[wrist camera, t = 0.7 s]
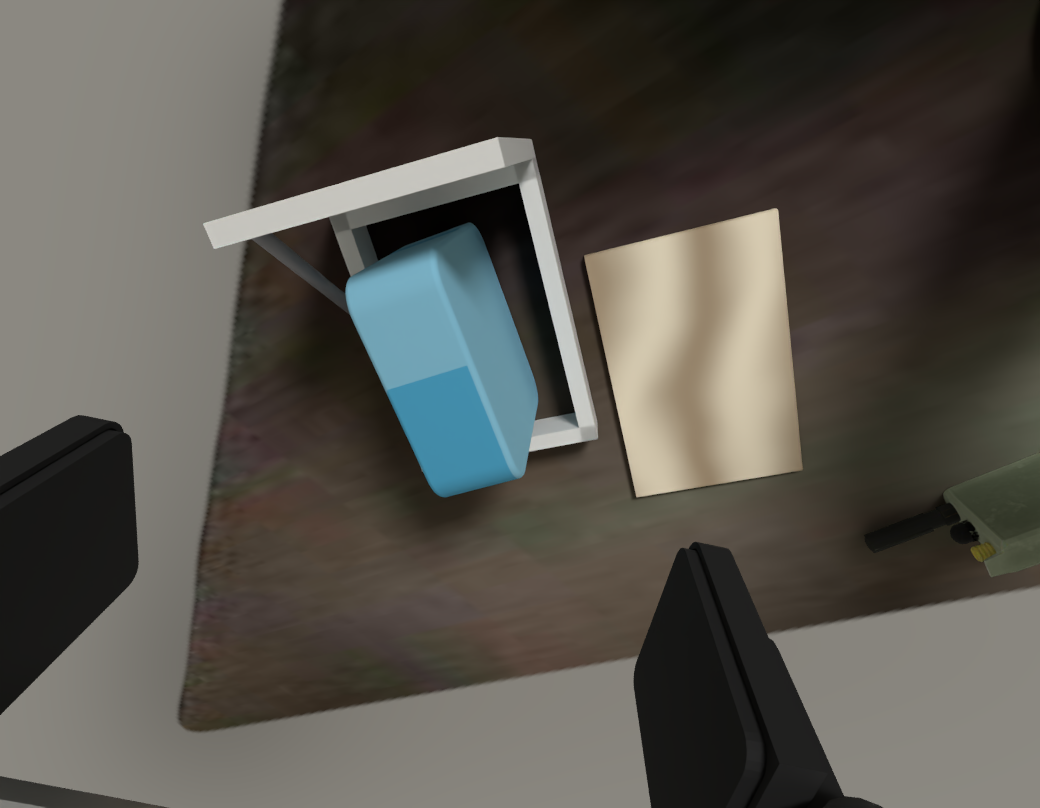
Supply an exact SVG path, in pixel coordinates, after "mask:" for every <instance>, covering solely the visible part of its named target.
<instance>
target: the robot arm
mask: <svg viewBox="0 0 1040 808" xmlns="http://www.w3.org/2000/svg"><path fill="white" fill-rule="evenodd" d="M138 562H139V561H138V544H137V527H136V511H135V493H134V475H133V458H132V443H131V438H130V436H129V435H128V434H126V433H124V432H123V429H122V427H121V425H120V424H118V423H116V422H113V421H107V420H103V419H98V418H93V417H88V416H82V415H78V416H75V417H72V418H70V419H68V420H67V421H65V422H63V423H61V424H59V425H57V426H55V427H53V428H52V429H50V430H48V431H46V432H44V433H42V434H41V435H39V436H37V437H35V438H33V439H31V440H29V441H28V442H26V443H24V444H22V445H21V446H18V447H16V448H15V449H13V450H11V451H9V452H7V453H5V454H3V455H2V456H0V715H1V714H2V713H3V712H4V711H5V709H7V707H9V706H10V705H11V703H12V702H14V701H15V700H16V699H17V698H18V697H19V695H20V694H22V693H23V692H24V691H25V690H26V689H27V688H28V686H30V685H31V684H32V683H33V682H34V681H35V679H36V678H38V676H39V675H40V674H41V673H42V672H44V671H45V669H46V668H47V667H48V666H49V665H50V664H51V663H52V662H53V661H54V660H55V659H56V658H57V657H58V656H59V655H60V654H61V653H62V652H63V651H64V650H65V649H66V648H67V647H68V646H69V645H70V644H71V643H72V642H73V641H74V640H75V639H76V638H77V637H78V636H79V635H80V634H81V633H82V632H83V631H84V630H85V629H86V628H87V627H88V626H89V625H90V624H91V623H92V622H93V621H94V620H95V619H96V618H97V617H98V616H99V615H100V614H101V613H102V612H103V611H104V610H105V609H106V608H107V607H108V606H109V605H110V604H111V603H112V602H113V601H114V600H115V599H116V598H117V597H118V596H119V595H120V594H121V593H122V592H123V591H124V590H125V589H126V588H127V587H128V586H129V585H130V584H131V582H132V581H133V579H134V577H135V575H136V573H137V569H138ZM634 691H635V698H636V705H637V712H638V718H639V726H640V733H641V740H642V747H643V753H644V760H645V767H646V774H647V780H648V788H649V795H650V802H651V808H883V807H881V806H879V805H877V804H874V803H871V802H869V801H867V800H864V799H861V798H855V797H846V796H844V795H843V793H842V791H841V788H840V786H839V784H838V782H837V779H836V777H835V775H834V773H833V771H832V768H831V766H830V764H829V762H828V759H827V758H826V755H825V753H824V750H823V748H822V746H821V744H820V741H819V739H818V737H817V735H816V733H815V730H814V728H813V726H812V724H811V721H810V719H809V717H808V715H807V712H806V710H805V708H804V706H803V703H802V701H801V699H800V697H799V695H798V692H797V690H796V688H795V686H794V683H793V681H792V679H791V677H790V675H789V672H788V670H787V668H786V666H785V663H784V661H783V659H782V657H781V654H780V652H779V650H778V648H777V647H776V645H775V643H774V642H773V641H772V640H771V639H769V638H768V635H767V633H766V631H765V628H764V626H763V624H762V622H761V619H760V617H759V615H758V612H757V610H756V608H755V606H754V603H753V601H752V599H751V596H750V594H749V592H748V590H747V587H746V585H745V583H744V581H743V578H742V576H741V574H740V571H739V569H738V567H737V565H736V562H735V560H734V558H733V555H732V553H731V552H730V550H729V549H727V548H723V547H718V546H713V545H709V544H704V543H699V542H694V543H692V545H691V546H690V547H689V549H686V548H681V549H680V550H679V551H678V553H677V555H676V558H675V560H674V563H673V566H672V568H671V571H670V574H669V576H668V579H667V582H666V585H665V587H664V590H663V593H662V595H661V598H660V601H659V603H658V606H657V609H656V611H655V614H654V617H653V619H652V622H651V625H650V627H649V630H648V633H647V635H646V638H645V641H644V643H643V646H642V649H641V651H640V654H639V657H638V659H637V662H636V666H635V671H634ZM0 808H167V807H162V806H157V805H151V804H146V803H141V802H136V801H130V800H125V799H120V798H114V797H109V796H104V795H98V794H93V793H88V792H82V791H77V790H72V789H66V788H61V787H56V786H50V785H45V784H39V783H34V782H28V781H22V780H17V779H12V778H7V777H1V776H0Z"/></svg>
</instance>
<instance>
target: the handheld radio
mask: <svg viewBox="0 0 1040 808" xmlns="http://www.w3.org/2000/svg"><path fill="white" fill-rule="evenodd" d="M943 497H944V499H945V502H946V504H944V505H941V506H939V507H936V510H933V511H930V512H928V513H925V514H923V513H922V514H919V515H917V516H914V517H911V518H909V519H906V520H903V521H901V522H898V523H896V524H893V525H890V526H888V527H885V528H882V529H880V530H877V531H874V532H872V533H869V534H866V535H864V537H865V542H866V544H867V546H868V547H869V549H870V550H872V551H873V552H874V553H876V552H879V551H882V550H884V549H887V548H890V547H892V546H895V545H898V544H900V543H903V542H906V541H908V540H911V539H914V538H916V537H919V536H922V535H924V534H927V533H930V532H932V531H934V530H933V529H936V528H938V527H941V526H943V525H947V526H948V525H951V524H953V523H956V522H960V523H959V524H956V525H954V526H953V527H952V528H951V530H950V534H951V537H952V538H953V539H954V540H955V541H956V542H958V543H960V544H966V543H969V542H972V541H973V542H974V541H979V542H980V543H981V544H980V546H979V545H976V547H972V549H971V552H972V554H973V555H974V557H975V558H976V559H977V560H978V561H981V562H982V561H984V563H985V566H986V568H987V570H988V573H989V575H990V577H994V576H998V575H1002V574H1006V573H1012V572H1017V571H1020V570H1023V569H1026V568H1029V567H1032V566H1035V565H1038V564H1040V452H1039V453H1037V454H1034V455H1032V456H1029V457H1027V458H1024V459H1021V460H1019V461H1016V462H1014V463H1011V464H1009V465H1006V466H1004V467H1001V468H999V469H996V470H994V471H991V472H988V473H986V474H983V475H981V476H978V477H976V478H973V479H971V480H968V481H966V482H963V483H960V484H958V485H955V486H953V487H950V488H948V489H947V490H946V491H945V492H944V493H943Z"/></svg>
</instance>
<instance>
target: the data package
mask: <svg viewBox="0 0 1040 808" xmlns="http://www.w3.org/2000/svg"><path fill="white" fill-rule="evenodd" d="M346 302H347V306H348V310H349V313H350V316H351V318H352V320H353V323H354V325H355V327H356V329H357V331H358V333H359V335H360V338H361V340H362V342H363V344H364V346H365V348H366V350H367V353H368V355H369V357H370V359H371V361H372V363H373V365H374V368H375V370H376V372H377V374H378V376H379V378H380V381H381V383H382V385H383V387H384V389H385V391H386V393H387V396H388V398H389V400H390V402H391V404H392V406H393V408H394V411H395V413H396V415H397V417H398V419H399V421H400V423H401V426H402V428H403V430H404V432H405V434H406V436H407V439H408V441H409V443H410V445H411V447H412V449H413V451H414V454H415V456H416V458H417V460H418V462H419V464H420V466H421V469H422V471H423V473H424V475H425V477H426V479H427V481H428V483H429V485H430V487H431V488H432V490H433V491H434V492H435V493H436V494H437V495H439V496H440V497H449V496H453V495H457V494H461V493H464V492H468V491H472V490H476V489H480V488H484V487H488V486H492V485H495V484H499V483H503V482H507V481H511V480H515V479H519V478H521V477H522V476H523V475H524V473H525V469H526V464H527V458H528V453H529V448H530V442H531V437H532V432H533V426H534V421H535V416H536V410H537V405H538V393H537V388H536V384H535V380H534V377H533V374H532V371H531V368H530V366H529V363H528V360H527V357H526V355H525V352H524V349H523V346H522V344H521V341H520V338H519V336H518V333H517V330H516V327H515V325H514V322H513V319H512V316H511V314H510V311H509V308H508V305H507V303H506V300H505V297H504V294H503V292H502V289H501V286H500V283H499V281H498V278H497V275H496V273H495V270H494V267H493V264H492V262H491V259H490V256H489V253H488V251H487V248H486V245H485V243H484V240H483V238H482V236H481V234H480V232H479V230H478V229H477V227H476V226H475V225H474V224H473V223H466V224H463V225H460V226H457V227H455V228H452V229H449V230H446V231H444V232H441V233H438V234H436V235H433V236H430V237H427V238H425V239H422V240H419V241H416V242H414V243H411V244H408V245H406V246H404V247H402V248H400V249H398V250H397V251H395V252H393V253H391V254H390V255H388V256H386V257H384V258H383V259H381V260H379V261H377V262H376V263H374V264H372V265H370V266H368V267H367V268H365V269H363V270H361V271H360V272H358V273H356V274H354V275H353V276H351V277H350V278H349V280H348V282H347V284H346Z"/></svg>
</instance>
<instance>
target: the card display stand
mask: <svg viewBox="0 0 1040 808" xmlns="http://www.w3.org/2000/svg"><path fill="white" fill-rule="evenodd" d="M518 183H519V186H520V190H521V194H522V198H523V202H524V207H525V211H526V215H527V219H528V223H529V227H530V231H531V235H532V239H533V243H534V247H535V251H536V255H537V259H538V263H539V267H540V271H541V275H542V280H543V284H544V288H545V292H546V296H547V300H548V304H549V308H550V312H551V316H552V320H553V324H554V328H555V332H556V336H557V340H558V344H559V348H560V353H561V357H562V361H563V365H564V369H565V373H566V377H567V381H568V385H569V389H570V393H571V397H572V401H573V405H574V409H575V413H570V414H565V415H560V416H555V417H550V418H545V419H540V420H535V421H534V426H533V432H532V437H531V442H530V448H529V452H530V451H535V450H541V449H546V448H552V447H557V446H562V445H568V444H573V443H579V442H584V441H589V440H595V439H598V426H597V418H596V414H595V410H594V406H593V401H592V397H591V393H590V388H589V384H588V380H587V376H586V371H585V367H584V363H583V358H582V354H581V350H580V346H579V341H578V337H577V333H576V328H575V324H574V320H573V315H572V311H571V307H570V303H569V298H568V294H567V290H566V285H565V281H564V277H563V273H562V268H561V264H560V260H559V255H558V251H557V247H556V243H555V238H554V234H553V230H552V225H551V221H550V217H549V213H548V208H547V204H546V200H545V195H544V191H543V187H542V182H541V178H540V174H539V170H538V165H537V161H536V157H535V152H534V148H533V144H532V140H531V139H519V138H502V137H497V138H493V139H490V140H487V141H483V142H480V143H476V144H473V145H469V146H466V147H463V148H459V149H456V150H452V151H449V152H446V153H442V154H439V155H435V156H432V157H428V158H425V159H422V160H418V161H415V162H411V163H408V164H405V165H401V166H398V167H394V168H391V169H388V170H384V171H381V172H377V173H374V174H370V175H367V176H364V177H360V178H357V179H353V180H350V181H347V182H343V183H340V184H336V185H333V186H329V187H326V188H323V189H319V190H316V191H312V192H309V193H306V194H302V195H299V196H295V197H292V198H288V199H285V200H282V201H278V202H275V203H271V204H268V205H265V206H261V207H258V208H254V209H251V210H247V211H244V212H241V213H237V214H234V215H230V216H227V217H224V218H220V219H217V220H213V221H210V222H207V223H203V225H204V227H205V229H206V232H207V234H208V236H209V238H210V241H211V243H212V245H213V248H214V249H216V248H220V247H223V246H227V245H230V244H234V243H237V242H241V241H244V240H248V239H252V240H254V241H255V242H256V243H257V244H259V245H260V246H261V247H263V248H264V249H265V250H267V251H268V252H269V253H270V254H272V255H273V256H274V257H276V258H277V259H278V260H279V261H281V262H282V263H283V264H285V265H286V266H287V267H289V268H290V269H291V270H292V271H294V272H295V273H296V274H298V275H299V276H300V277H301V278H303V279H304V280H305V281H307V282H308V283H309V284H311V285H312V286H313V287H314V288H316V289H317V290H318V291H320V292H321V293H322V294H324V295H325V296H326V297H327V298H329V299H330V300H331V301H333V302H334V303H335V304H336V305H338V306H339V307H340V308H342V309H343V310H344V311H346V312H347V313H348V314H349V315H350V313H349V310H348V306H347V302H346V294H345V293H344V292H342V291H341V290H340V289H339V288H338V287H336V286H335V285H334V284H333V283H332V282H330V281H329V280H328V279H327V278H325V277H324V276H323V275H322V274H321V273H319V272H318V271H317V270H316V269H315V268H313V267H312V266H311V265H310V264H308V263H307V262H306V261H305V260H304V259H302V258H301V257H300V256H299V255H298V254H296V253H295V252H294V251H293V250H292V249H290V248H289V247H288V246H287V245H285V244H284V243H283V242H282V241H281V240H279V239H278V238H277V237H276V236H275V235H273V234H272V233H273V232H276V231H280V230H283V229H287V228H291V227H294V226H298V225H301V224H305V223H308V222H312V221H315V220H319V219H322V218H326V217H329V219H330V221H331V224H332V227H333V229H334V232H335V235H336V238H337V240H338V243H339V246H340V249H341V251H342V254H343V257H344V260H345V262H346V265H347V268H348V271H349V273H350V276H353V275H354V274H356V273H358V272H360V271H361V270H363V269H365V268H367V267H368V266H370V265H372V264H374V263H376V262H377V261H378V259H377V256H376V253H375V250H374V247H373V244H372V241H371V238H370V235H369V233H368V230H367V227H366V225H369V224H373V223H376V222H380V221H383V220H387V219H391V218H394V217H398V216H402V215H405V214H409V213H412V212H416V211H420V210H423V209H427V208H431V207H434V206H438V205H442V204H445V203H449V202H452V201H456V200H460V199H463V198H467V197H471V196H474V195H478V194H481V193H485V192H489V191H492V190H496V189H500V188H503V187H507V186H511V185H514V184H518ZM419 465H420V464H419ZM420 467H421V466H420ZM421 470H422V469H421Z"/></svg>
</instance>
